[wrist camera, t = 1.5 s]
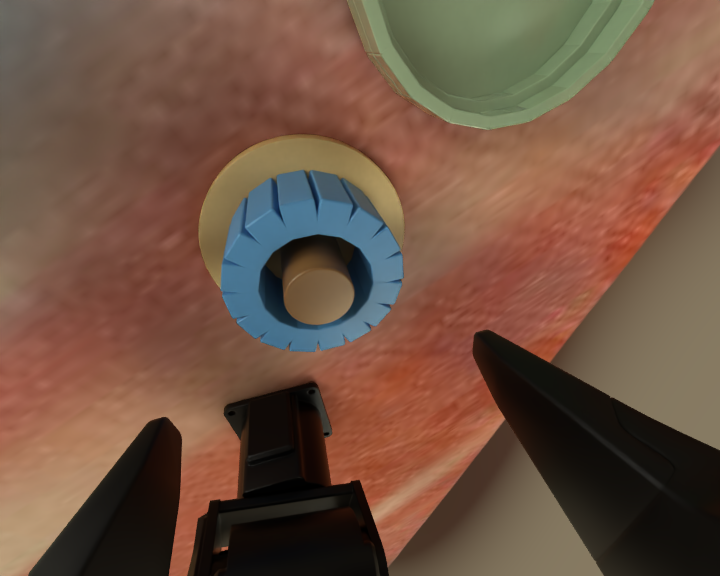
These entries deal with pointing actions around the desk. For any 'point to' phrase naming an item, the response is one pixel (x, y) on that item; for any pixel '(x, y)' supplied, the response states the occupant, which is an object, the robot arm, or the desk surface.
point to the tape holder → (308, 254)
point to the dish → (493, 52)
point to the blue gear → (297, 220)
